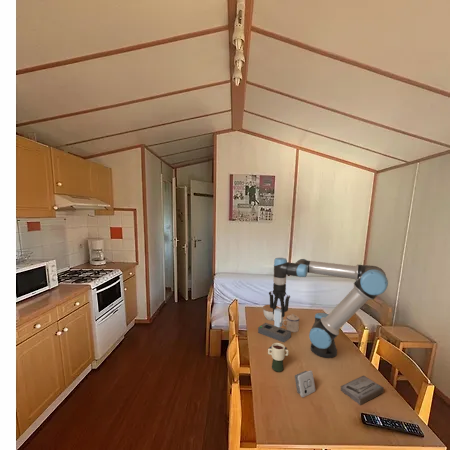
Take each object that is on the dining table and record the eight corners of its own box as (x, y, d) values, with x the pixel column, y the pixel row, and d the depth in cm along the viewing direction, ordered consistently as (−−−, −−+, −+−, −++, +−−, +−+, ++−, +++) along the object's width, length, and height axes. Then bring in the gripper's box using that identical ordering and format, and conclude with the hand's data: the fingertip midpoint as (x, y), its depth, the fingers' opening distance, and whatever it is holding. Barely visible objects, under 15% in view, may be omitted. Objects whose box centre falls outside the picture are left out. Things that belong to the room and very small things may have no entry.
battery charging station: (290, 336, 176) (291, 330, 175) (284, 342, 168) (284, 335, 168) (265, 327, 188) (265, 321, 188) (258, 332, 181) (258, 326, 180)
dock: (286, 349, 159) (286, 347, 159) (280, 355, 153) (280, 352, 153) (274, 345, 164) (274, 343, 164) (268, 350, 158) (268, 348, 158)
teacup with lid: (297, 326, 191) (297, 311, 190) (300, 332, 182) (301, 316, 181) (280, 326, 191) (281, 311, 190) (283, 332, 182) (284, 316, 181)
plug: (282, 325, 158) (282, 309, 158) (279, 327, 156) (280, 311, 155) (276, 323, 160) (277, 308, 160) (274, 325, 158) (274, 309, 157)
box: (384, 393, 123) (384, 387, 122) (360, 406, 115) (360, 399, 115) (363, 380, 132) (363, 374, 132) (340, 391, 124) (340, 385, 124)
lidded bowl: (276, 315, 211) (277, 302, 210) (280, 322, 199) (281, 308, 198) (261, 315, 210) (261, 302, 210) (264, 322, 198) (265, 308, 197)
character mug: (286, 365, 143) (287, 343, 142) (288, 374, 136) (289, 350, 135) (266, 364, 144) (267, 342, 143) (267, 372, 137) (268, 349, 136)
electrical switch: (302, 398, 118) (301, 378, 119) (293, 392, 123) (293, 373, 123) (315, 391, 123) (315, 372, 123) (307, 386, 128) (306, 367, 128)
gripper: (295, 284, 154) (293, 322, 156) (270, 279, 164) (269, 315, 166) (289, 287, 148) (288, 327, 150) (264, 281, 159) (263, 318, 160)
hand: (278, 320), depth 158 cm, fingers closed on plug, 3 cm apart
